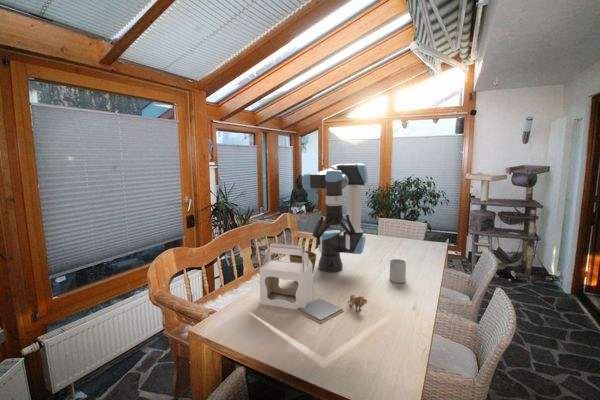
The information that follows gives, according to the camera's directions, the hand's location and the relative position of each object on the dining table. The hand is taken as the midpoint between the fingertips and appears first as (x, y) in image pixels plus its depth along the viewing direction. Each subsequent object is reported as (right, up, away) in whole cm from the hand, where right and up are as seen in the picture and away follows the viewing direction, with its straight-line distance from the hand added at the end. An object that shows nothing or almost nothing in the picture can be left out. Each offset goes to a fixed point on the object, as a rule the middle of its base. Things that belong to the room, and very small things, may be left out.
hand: (334, 250), depth 133 cm
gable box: (-22, -26, +5) cm, 34 cm away
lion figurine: (+9, -26, -3) cm, 28 cm away
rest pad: (-7, -26, -5) cm, 27 cm away
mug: (+40, -22, +30) cm, 55 cm away
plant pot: (-14, -23, +26) cm, 38 cm away
